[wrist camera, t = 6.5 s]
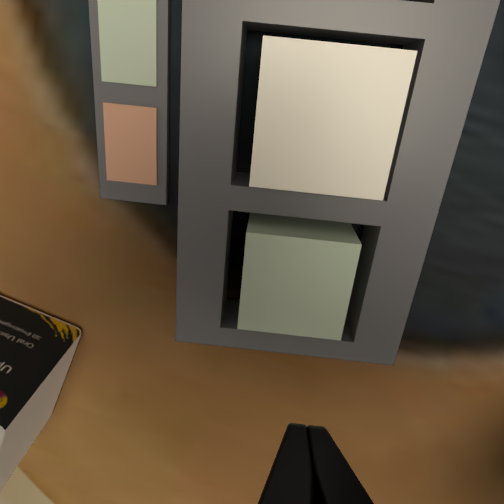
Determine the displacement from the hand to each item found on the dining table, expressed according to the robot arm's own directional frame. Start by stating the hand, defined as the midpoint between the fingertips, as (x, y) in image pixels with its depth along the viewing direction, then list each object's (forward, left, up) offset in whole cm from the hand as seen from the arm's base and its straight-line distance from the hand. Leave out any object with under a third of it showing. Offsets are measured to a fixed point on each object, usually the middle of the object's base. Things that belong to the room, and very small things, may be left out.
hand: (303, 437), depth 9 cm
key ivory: (+6, 0, -9) cm, 11 cm away
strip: (+6, +7, -11) cm, 14 cm away
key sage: (0, 0, -10) cm, 10 cm away
